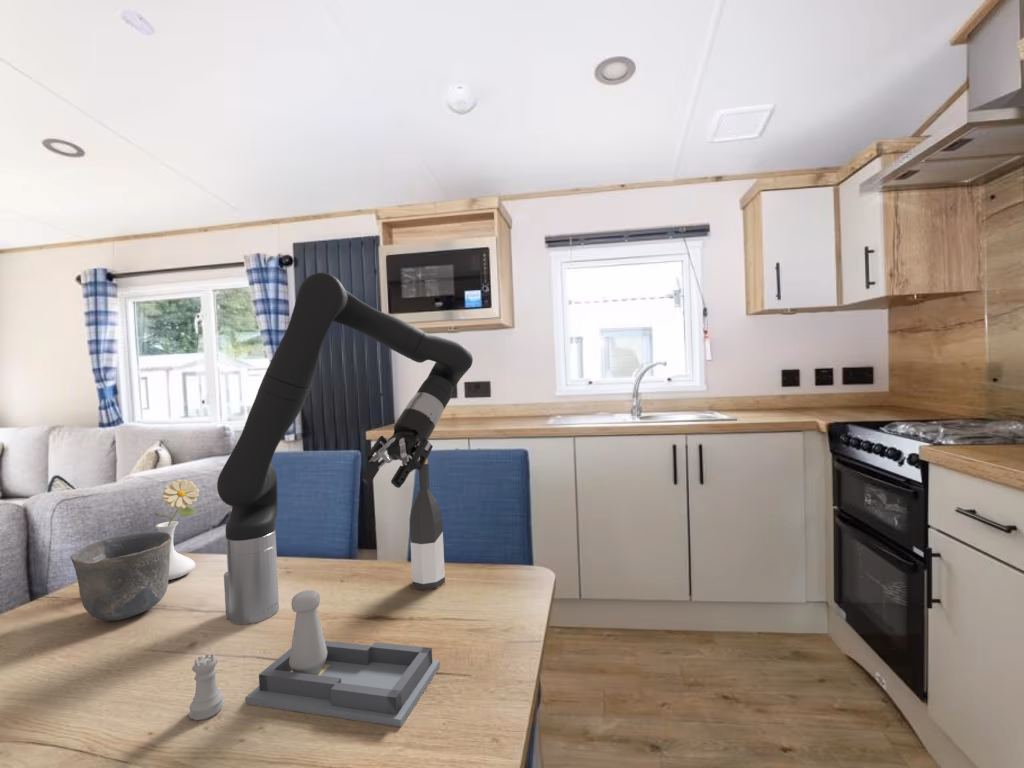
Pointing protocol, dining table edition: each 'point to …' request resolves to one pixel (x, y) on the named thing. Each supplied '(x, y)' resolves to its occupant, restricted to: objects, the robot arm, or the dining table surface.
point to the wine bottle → (426, 537)
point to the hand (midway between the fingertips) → (379, 483)
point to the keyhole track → (351, 683)
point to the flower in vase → (178, 497)
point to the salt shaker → (307, 635)
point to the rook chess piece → (205, 689)
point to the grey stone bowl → (123, 574)
